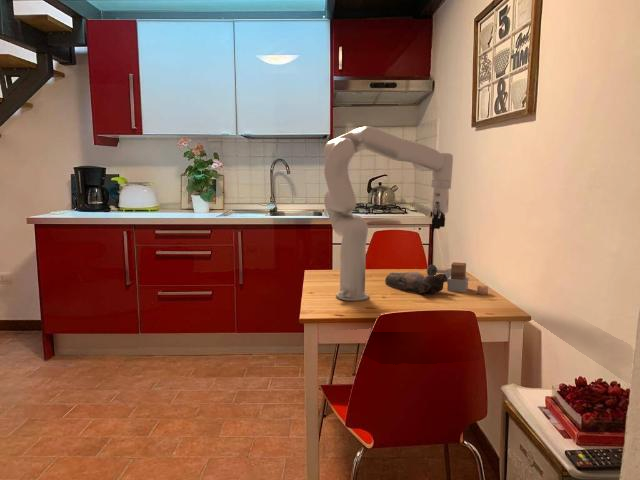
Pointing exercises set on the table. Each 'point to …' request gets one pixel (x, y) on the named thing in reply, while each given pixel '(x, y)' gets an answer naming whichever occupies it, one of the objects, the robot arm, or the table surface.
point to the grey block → (457, 285)
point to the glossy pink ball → (482, 290)
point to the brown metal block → (458, 271)
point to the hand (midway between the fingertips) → (438, 227)
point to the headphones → (437, 271)
